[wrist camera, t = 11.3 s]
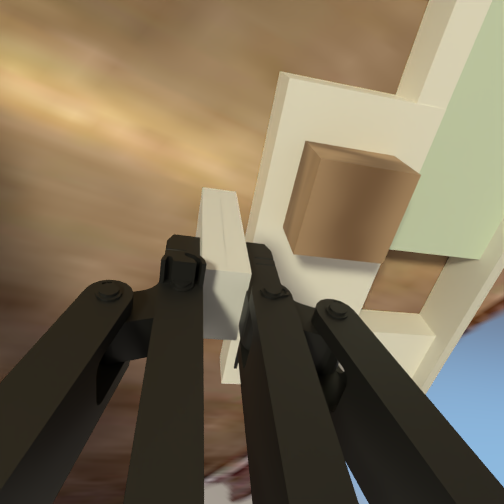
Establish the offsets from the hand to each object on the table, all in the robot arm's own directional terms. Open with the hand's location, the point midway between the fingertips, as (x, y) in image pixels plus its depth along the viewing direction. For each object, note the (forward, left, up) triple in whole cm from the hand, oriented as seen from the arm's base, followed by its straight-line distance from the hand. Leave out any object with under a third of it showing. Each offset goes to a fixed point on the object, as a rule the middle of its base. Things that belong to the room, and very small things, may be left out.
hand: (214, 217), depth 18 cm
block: (+8, -1, -7) cm, 11 cm away
